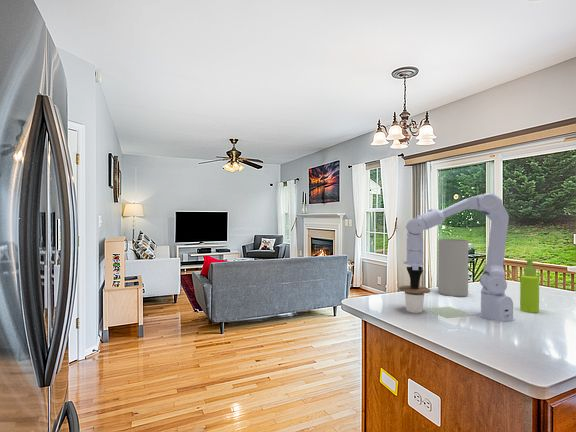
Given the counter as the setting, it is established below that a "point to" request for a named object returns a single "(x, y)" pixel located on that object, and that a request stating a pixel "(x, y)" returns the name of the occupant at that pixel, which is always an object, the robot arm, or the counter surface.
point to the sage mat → (448, 312)
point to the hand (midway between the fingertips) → (414, 286)
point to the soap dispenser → (529, 288)
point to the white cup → (414, 302)
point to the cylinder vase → (453, 267)
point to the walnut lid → (414, 289)
